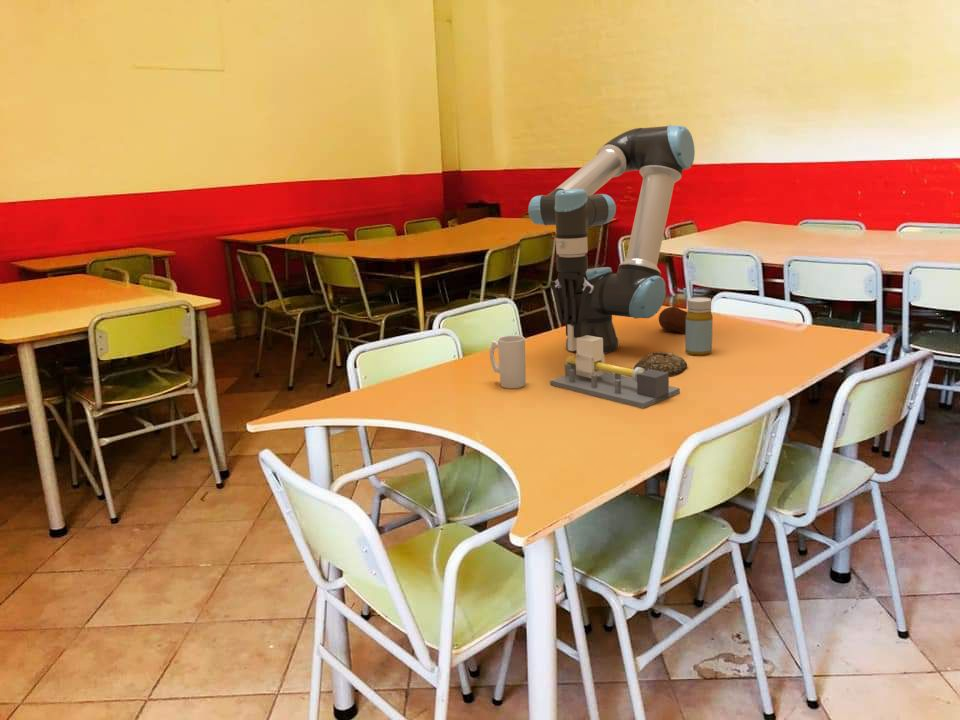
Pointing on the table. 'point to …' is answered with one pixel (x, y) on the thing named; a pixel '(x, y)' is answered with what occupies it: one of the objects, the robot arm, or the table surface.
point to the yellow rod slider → (619, 384)
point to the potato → (673, 319)
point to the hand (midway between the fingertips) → (573, 349)
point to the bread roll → (662, 363)
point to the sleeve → (589, 355)
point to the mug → (510, 361)
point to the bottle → (699, 326)
